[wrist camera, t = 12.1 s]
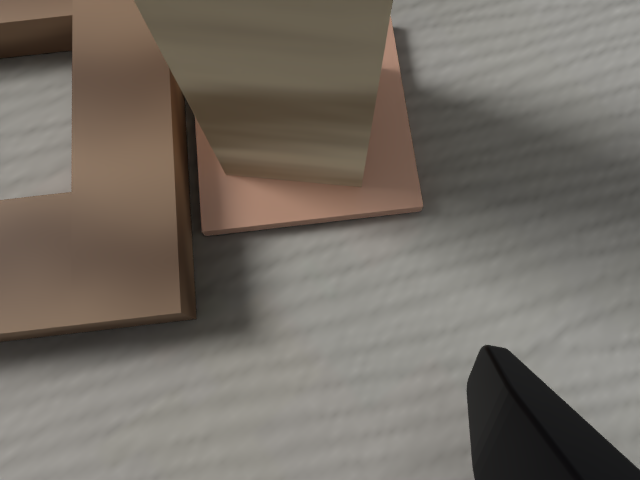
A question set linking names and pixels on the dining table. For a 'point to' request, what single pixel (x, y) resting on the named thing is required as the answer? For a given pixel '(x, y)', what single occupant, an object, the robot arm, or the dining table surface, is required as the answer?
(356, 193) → the terracotta tile
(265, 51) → the maple block
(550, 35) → the dining table surface
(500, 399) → the robot arm
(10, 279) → the pocket board
